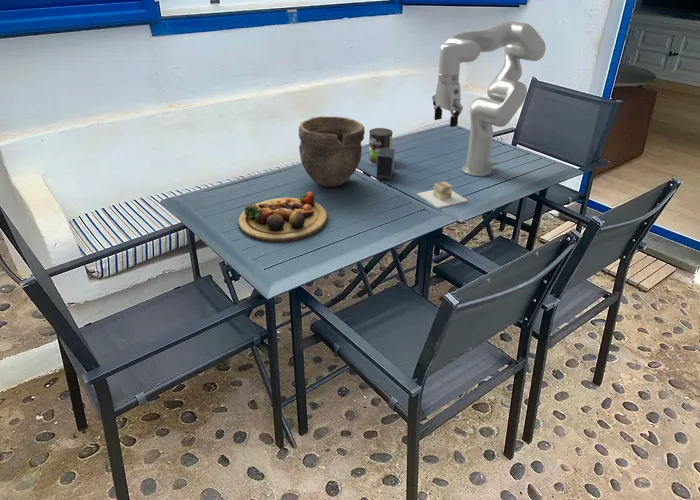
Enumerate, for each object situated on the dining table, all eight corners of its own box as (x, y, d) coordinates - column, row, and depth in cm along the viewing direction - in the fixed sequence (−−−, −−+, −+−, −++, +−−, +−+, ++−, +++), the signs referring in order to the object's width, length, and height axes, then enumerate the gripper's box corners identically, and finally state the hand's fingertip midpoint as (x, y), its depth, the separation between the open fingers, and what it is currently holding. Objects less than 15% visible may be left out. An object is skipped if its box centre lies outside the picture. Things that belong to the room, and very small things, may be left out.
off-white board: (445, 188, 222) (446, 186, 222) (467, 201, 212) (467, 200, 212) (417, 194, 217) (417, 193, 217) (437, 208, 206) (437, 207, 206)
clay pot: (375, 187, 223) (377, 127, 210) (320, 201, 211) (318, 139, 199) (342, 166, 242) (342, 111, 230) (290, 178, 231) (286, 120, 218)
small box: (391, 180, 229) (392, 157, 224) (375, 179, 230) (376, 156, 225) (394, 171, 238) (395, 148, 233) (379, 170, 239) (380, 147, 234)
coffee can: (381, 167, 242) (382, 136, 235) (363, 161, 248) (364, 131, 240) (395, 161, 248) (397, 131, 241) (378, 155, 254) (379, 126, 247)
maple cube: (443, 193, 217) (444, 181, 214) (451, 197, 213) (452, 186, 211) (433, 195, 215) (434, 183, 212) (440, 200, 211) (441, 188, 209)
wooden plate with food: (301, 196, 216) (300, 176, 212) (344, 227, 193) (343, 206, 189) (225, 216, 202) (222, 196, 198) (261, 253, 179) (258, 231, 174)
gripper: (471, 81, 198) (467, 127, 208) (442, 71, 211) (439, 115, 220) (455, 84, 195) (452, 130, 204) (426, 74, 208) (424, 118, 217)
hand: (445, 122), depth 212 cm, fingers open, 9 cm apart
